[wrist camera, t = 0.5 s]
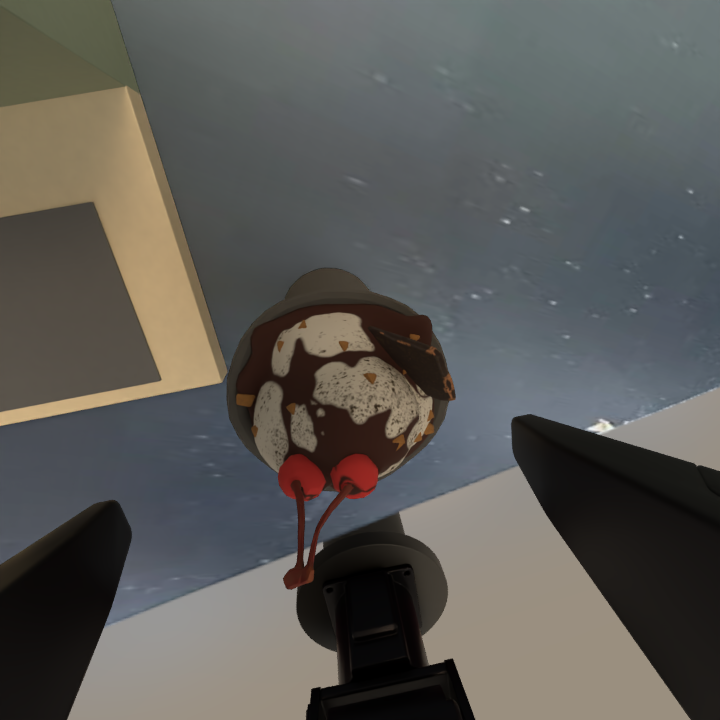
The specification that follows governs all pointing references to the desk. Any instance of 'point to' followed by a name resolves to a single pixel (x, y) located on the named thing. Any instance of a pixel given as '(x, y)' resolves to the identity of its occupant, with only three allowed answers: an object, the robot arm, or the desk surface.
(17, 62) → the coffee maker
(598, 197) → the desk surface
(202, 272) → the desk surface
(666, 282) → the desk surface
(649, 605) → the robot arm
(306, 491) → the sundae
